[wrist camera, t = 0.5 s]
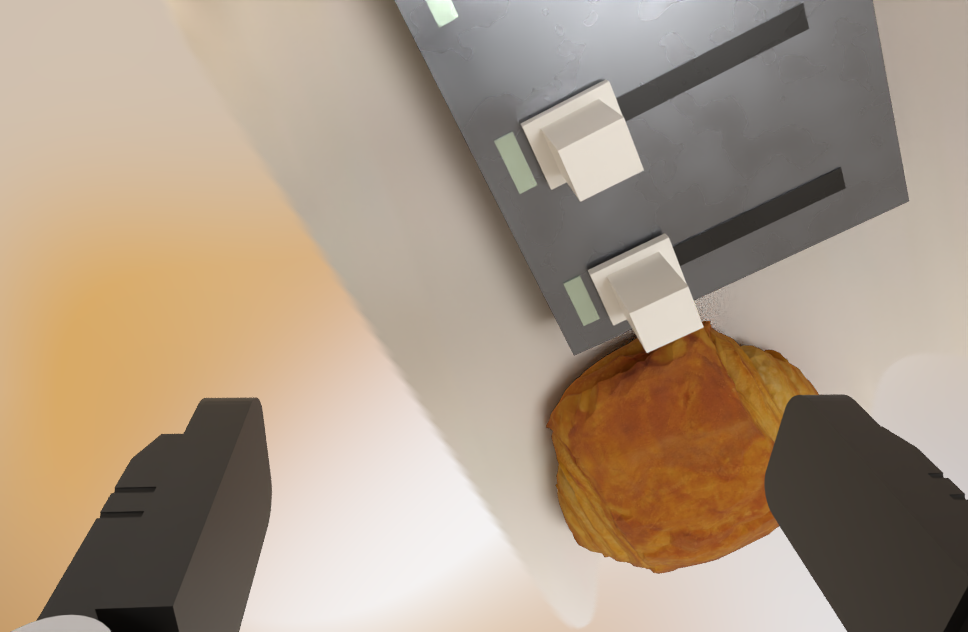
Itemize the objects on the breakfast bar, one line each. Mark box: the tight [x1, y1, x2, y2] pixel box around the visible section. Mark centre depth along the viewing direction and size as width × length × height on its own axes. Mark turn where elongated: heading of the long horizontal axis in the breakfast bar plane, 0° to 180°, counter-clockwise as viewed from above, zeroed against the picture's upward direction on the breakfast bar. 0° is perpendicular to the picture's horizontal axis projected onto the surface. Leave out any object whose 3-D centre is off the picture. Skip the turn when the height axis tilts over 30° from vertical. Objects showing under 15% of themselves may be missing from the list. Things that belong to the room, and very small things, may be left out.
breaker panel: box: [394, 0, 909, 356], centre depth 28 cm, size 16×19×4 cm
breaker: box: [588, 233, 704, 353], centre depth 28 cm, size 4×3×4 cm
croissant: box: [546, 321, 819, 574], centre depth 36 cm, size 14×16×8 cm
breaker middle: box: [521, 80, 644, 202], centre depth 25 cm, size 4×3×4 cm
